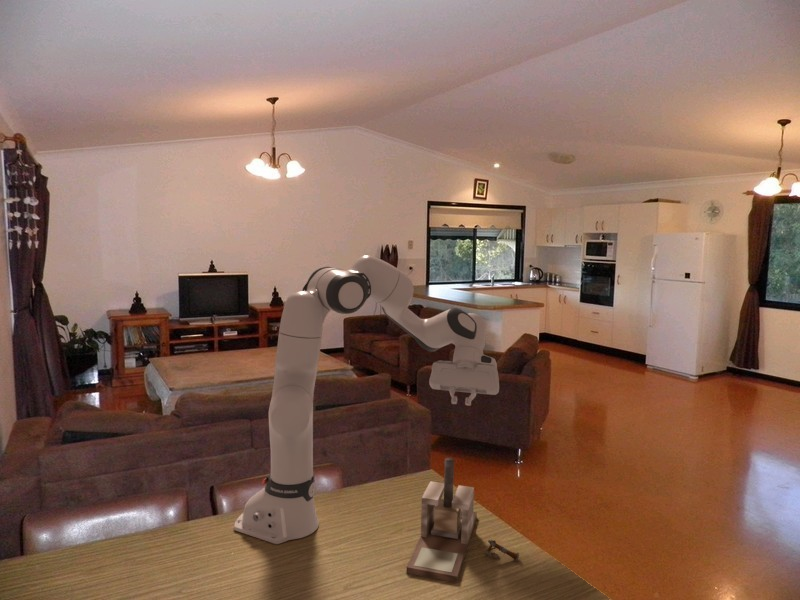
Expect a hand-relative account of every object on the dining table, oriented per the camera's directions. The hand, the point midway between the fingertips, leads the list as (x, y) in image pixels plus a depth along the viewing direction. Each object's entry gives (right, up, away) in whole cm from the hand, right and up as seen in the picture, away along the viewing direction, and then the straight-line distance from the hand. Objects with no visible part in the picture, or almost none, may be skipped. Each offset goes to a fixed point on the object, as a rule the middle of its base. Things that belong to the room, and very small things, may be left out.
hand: (460, 403), depth 158 cm
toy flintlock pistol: (+8, -35, -21) cm, 41 cm away
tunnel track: (-6, -33, -14) cm, 37 cm away
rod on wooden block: (-5, -31, -11) cm, 33 cm away
